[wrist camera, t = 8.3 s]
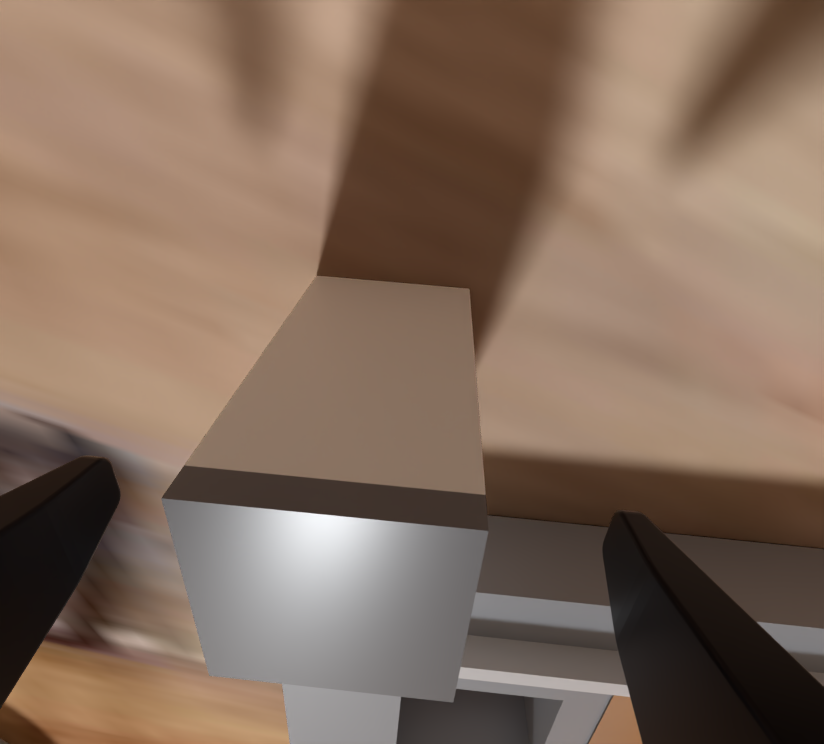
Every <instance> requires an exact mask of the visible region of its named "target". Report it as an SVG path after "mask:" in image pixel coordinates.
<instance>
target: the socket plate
mask: <svg viewBox="0 0 824 744" xmlns="http://www.w3.org/2000/svg"><path fill="white" fill-rule="evenodd" d="M487 517H488V530H489V531H488V536H487V541H486V546H485V551H484V556H483V561H482V565H481V570H480V575H479V580H478V585H477V590H476V595H475V599H474V604H473V609H472V614H471V619H470V624H469V629H468V633H467V638H466V643H465V648H464V653H463V658H462V663H461V668H460V672H459V677H458V682H457V687H456V692H455V697H454V702H443V701H434V700H425V699H416V698H407V697H398V696H389V695H380V694H371V693H362V692H353V691H344V690H335V689H325V688H316V687H307V686H298V685H289V684H282V686H283V694H284V702H285V709H286V717H287V725H288V732H289V740H290V744H589V742H590V740H591V738H592V736H593V734H594V732H595V730H596V728H597V726H598V725H599V723H600V721H601V719H602V717H603V715H604V713H605V711H606V709H607V707H608V705H609V704H610V702H611V700H612V698H613V696H614V695H616V696H625V697H630V695H629V691H628V687H627V683H626V679H625V676H624V672H623V668H622V664H621V660H620V657H619V652H618V648H617V644H616V639H615V633H614V628H613V621H612V614H611V608H610V601H609V595H608V588H607V581H606V575H605V568H604V562H603V554H602V546H603V541H604V538H605V535H606V533H607V530H608V528H609V527H599V526H589V525H579V524H569V523H559V522H549V521H539V520H529V519H520V518H510V517H500V516H490V515H487ZM664 534H665V535H666V536H667V537H668V538H669V539H671V540H672V541H673V542H674V543H675V544H676V545H677V546H678V547H679V548H680V549H681V550H682V551H683V552H684V553H685V554H686V555H687V556H688V557H689V558H690V559H691V560H692V561H693V562H695V563H696V564H697V565H698V566H699V567H700V568H701V569H702V570H703V571H704V572H705V573H706V574H707V575H708V576H709V577H710V578H711V579H712V580H713V581H714V582H715V583H716V584H718V585H719V586H720V587H721V588H722V589H723V590H724V591H725V592H726V593H727V594H728V595H729V596H730V597H731V598H732V599H733V600H734V601H735V602H736V603H737V604H738V605H739V606H740V607H742V608H743V609H744V610H745V611H746V612H747V613H748V614H749V615H750V616H751V617H752V618H753V619H754V620H755V621H756V622H757V623H758V624H759V625H760V626H761V627H762V628H763V629H764V630H766V631H767V632H768V633H769V634H770V635H771V636H772V637H773V638H774V639H775V640H776V641H777V642H778V643H779V644H780V645H781V646H782V647H783V648H784V649H785V650H786V651H787V652H789V653H790V654H791V655H792V656H793V657H794V658H795V659H796V660H797V661H798V662H799V663H800V664H801V665H802V666H803V667H804V668H805V669H806V670H807V671H808V672H809V673H810V674H811V675H813V676H814V677H815V678H816V679H817V680H818V681H819V682H820V683H821V684H822V685H823V686H824V549H818V548H808V547H798V546H788V545H778V544H768V543H758V542H748V541H738V540H729V539H719V538H709V537H699V536H689V535H679V534H669V533H664Z"/></svg>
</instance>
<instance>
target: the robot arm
mask: <svg viewBox="0 0 824 744" xmlns="http://www.w3.org/2000/svg"><path fill="white" fill-rule="evenodd" d="M119 500H120V488H119V485H118V482H117V479H116V476H115V472H114V469H113V466H112V464H111V462H110V461H109V460H108V459H107V458H105V457H97V456H81V457H79V458H77V459H75V460H73V461H71V462H69V463H67V464H65V465H63V466H60V467H58V468H56V469H54V470H52V471H50V472H48V473H46V474H44V475H42V476H40V477H38V478H36V479H34V480H32V481H30V482H28V483H26V484H24V485H22V486H20V487H18V488H15V489H13V490H11V491H9V492H7V493H5V494H3V495H1V496H0V709H1V707H2V705H3V704H4V702H5V701H6V699H7V697H8V696H9V694H10V693H11V691H12V689H13V688H14V686H15V685H16V683H17V681H18V680H19V678H20V677H21V675H22V673H23V672H24V670H25V669H26V667H27V665H28V664H29V662H30V661H31V659H32V657H33V656H34V654H35V653H36V651H37V650H38V648H39V646H40V645H41V643H42V642H43V640H44V638H45V637H46V635H47V634H48V632H49V630H50V629H51V627H52V626H53V624H54V622H55V621H56V619H57V618H58V616H59V614H60V613H61V611H62V610H63V608H64V606H65V605H66V603H67V602H68V600H69V598H70V597H71V595H72V593H73V592H74V590H75V588H76V587H77V585H78V583H79V582H80V580H81V578H82V576H83V574H84V572H85V570H86V568H87V566H88V564H89V562H90V560H91V558H92V556H93V554H94V552H95V550H96V548H97V546H98V544H99V542H100V540H101V538H102V536H103V534H104V532H105V530H106V528H107V526H108V524H109V522H110V520H111V518H112V516H113V514H114V512H115V510H116V508H117V506H118V504H119ZM602 554H603V562H604V568H605V575H606V581H607V588H608V595H609V601H610V608H611V614H612V621H613V628H614V633H615V639H616V644H617V648H618V652H619V657H620V660H621V664H622V668H623V672H624V676H625V679H626V683H627V687H628V691H629V695H630V698H631V702H632V706H633V710H634V713H635V717H636V721H637V725H638V729H639V732H640V736H641V740H642V744H824V686H823V685H822V684H821V683H820V682H819V681H818V680H817V679H816V678H815V677H814V676H813V675H811V674H810V673H809V672H808V671H807V670H806V669H805V668H804V667H803V666H802V665H801V664H800V663H799V662H798V661H797V660H796V659H795V658H794V657H793V656H792V655H791V654H790V653H789V652H787V651H786V650H785V649H784V648H783V647H782V646H781V645H780V644H779V643H778V642H777V641H776V640H775V639H774V638H773V637H772V636H771V635H770V634H769V633H768V632H767V631H766V630H764V629H763V628H762V627H761V626H760V625H759V624H758V623H757V622H756V621H755V620H754V619H753V618H752V617H751V616H750V615H749V614H748V613H747V612H746V611H745V610H744V609H743V608H742V607H740V606H739V605H738V604H737V603H736V602H735V601H734V600H733V599H732V598H731V597H730V596H729V595H728V594H727V593H726V592H725V591H724V590H723V589H722V588H721V587H720V586H719V585H718V584H716V583H715V582H714V581H713V580H712V579H711V578H710V577H709V576H708V575H707V574H706V573H705V572H704V571H703V570H702V569H701V568H700V567H699V566H698V565H697V564H696V563H695V562H693V561H692V560H691V559H690V558H689V557H688V556H687V555H686V554H685V553H684V552H683V551H682V550H681V549H680V548H679V547H678V546H677V545H676V544H675V543H674V542H673V541H672V540H671V539H669V538H668V537H667V536H666V535H665V534H664V533H663V532H662V531H661V530H660V529H659V528H658V527H657V526H656V525H655V524H654V523H653V522H652V521H651V520H650V519H649V518H648V517H646V516H645V515H644V514H643V513H641V512H638V511H628V510H618V511H616V512H615V513H614V515H613V517H612V520H611V522H610V525H609V528H608V530H607V533H606V535H605V538H604V541H603V546H602Z"/></svg>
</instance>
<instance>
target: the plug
mask: <svg viewBox="0 0 824 744" xmlns="http://www.w3.org/2000/svg"><path fill="white" fill-rule="evenodd" d="M161 499H162V503H163V506H164V510H165V514H166V517H167V521H168V525H169V528H170V532H171V536H172V539H173V543H174V547H175V551H176V554H177V558H178V562H179V565H180V569H181V573H182V576H183V580H184V584H185V587H186V591H187V595H188V599H189V602H190V606H191V610H192V613H193V617H194V621H195V624H196V628H197V632H198V635H199V639H200V643H201V647H202V650H203V654H204V658H205V661H206V665H207V669H208V672H209V676H216V677H226V678H235V679H244V680H253V681H262V682H271V683H280V684H289V685H298V686H307V687H316V688H325V689H335V690H344V691H353V692H362V693H371V694H380V695H389V696H398V697H407V698H416V699H425V700H434V701H443V702H454V697H455V692H456V687H457V682H458V677H459V672H460V668H461V663H462V658H463V653H464V648H465V643H466V638H467V633H468V629H469V624H470V619H471V614H472V609H473V604H474V599H475V595H476V590H477V585H478V580H479V575H480V570H481V565H482V561H483V556H484V551H485V546H486V541H487V536H488V531H489V530H488V517H487V505H486V492H485V479H484V467H483V454H482V441H481V429H480V416H479V403H478V390H477V378H476V365H475V352H474V340H473V327H472V314H471V302H470V289H468V288H456V287H444V286H433V285H421V284H409V283H398V282H386V281H374V280H363V279H351V278H339V277H328V276H316V277H315V278H314V280H313V281H312V283H311V284H310V286H309V287H308V288H307V290H306V291H305V293H304V294H303V296H302V297H301V299H300V300H299V301H298V303H297V304H296V306H295V307H294V309H293V310H292V311H291V313H290V314H289V316H288V317H287V319H286V320H285V321H284V323H283V324H282V326H281V327H280V329H279V330H278V332H277V333H276V334H275V336H274V337H273V339H272V340H271V342H270V343H269V344H268V346H267V347H266V349H265V350H264V352H263V353H262V355H261V356H260V357H259V359H258V360H257V362H256V363H255V365H254V366H253V367H252V369H251V370H250V372H249V373H248V375H247V376H246V377H245V379H244V380H243V382H242V383H241V385H240V386H239V388H238V389H237V390H236V392H235V393H234V395H233V396H232V398H231V399H230V400H229V402H228V403H227V405H226V406H225V408H224V409H223V411H222V412H221V413H220V415H219V416H218V418H217V419H216V421H215V422H214V423H213V425H212V426H211V428H210V429H209V431H208V432H207V434H206V435H205V436H204V438H203V439H202V441H201V442H200V444H199V445H198V446H197V448H196V449H195V451H194V452H193V454H192V455H191V456H190V458H189V459H188V461H187V462H186V464H185V465H184V467H183V468H182V469H181V471H180V472H179V474H178V475H177V477H176V478H175V479H174V481H173V482H172V484H171V485H170V487H169V488H168V490H167V491H166V492H165V494H164V495H163V497H162V498H161Z"/></svg>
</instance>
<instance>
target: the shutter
mask: <svg viewBox="0 0 824 744" xmlns="http://www.w3.org/2000/svg"><path fill="white" fill-rule="evenodd" d="M589 744H642V740H641V736H640V732H639V729H638V725H637V721H636V717H635V713H634V710H633V706H632V702H631V698H630V697H625V696H616V695H614V696H613V698H612V700H611V702H610V704H609V705H608V707H607V709H606V711H605V713H604V715H603V717H602V719H601V721H600V723H599V725H598V726H597V728H596V730H595V732H594V734H593V736H592V738H591V740H590V742H589Z"/></svg>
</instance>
